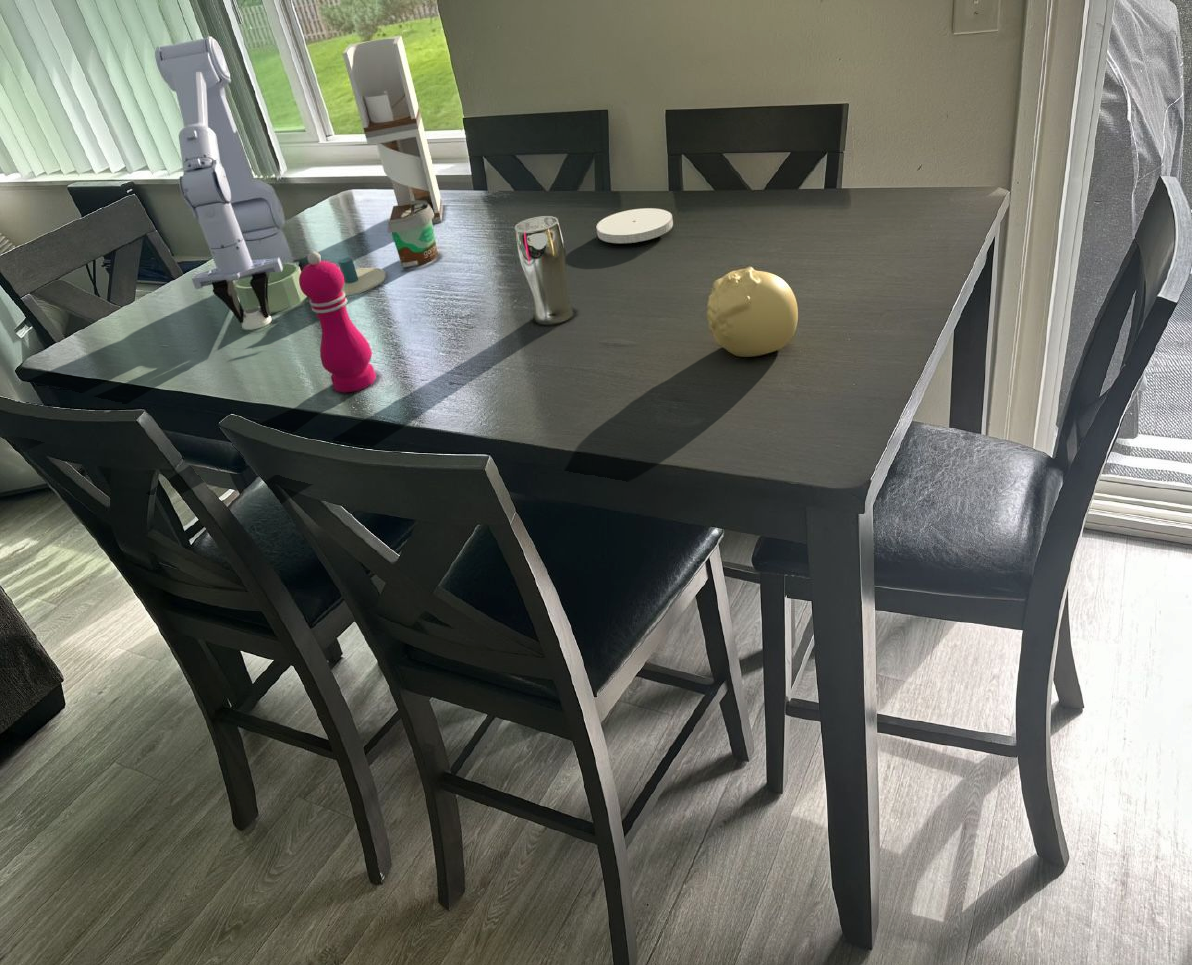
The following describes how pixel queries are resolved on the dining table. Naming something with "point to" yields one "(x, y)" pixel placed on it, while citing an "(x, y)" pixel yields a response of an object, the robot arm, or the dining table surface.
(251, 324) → the lidless jar
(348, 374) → the pepper mill
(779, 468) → the dining table surface
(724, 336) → the sculpture
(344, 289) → the tub lid
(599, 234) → the plastic lid
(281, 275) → the tub
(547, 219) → the beer glass
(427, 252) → the food container
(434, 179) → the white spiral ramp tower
